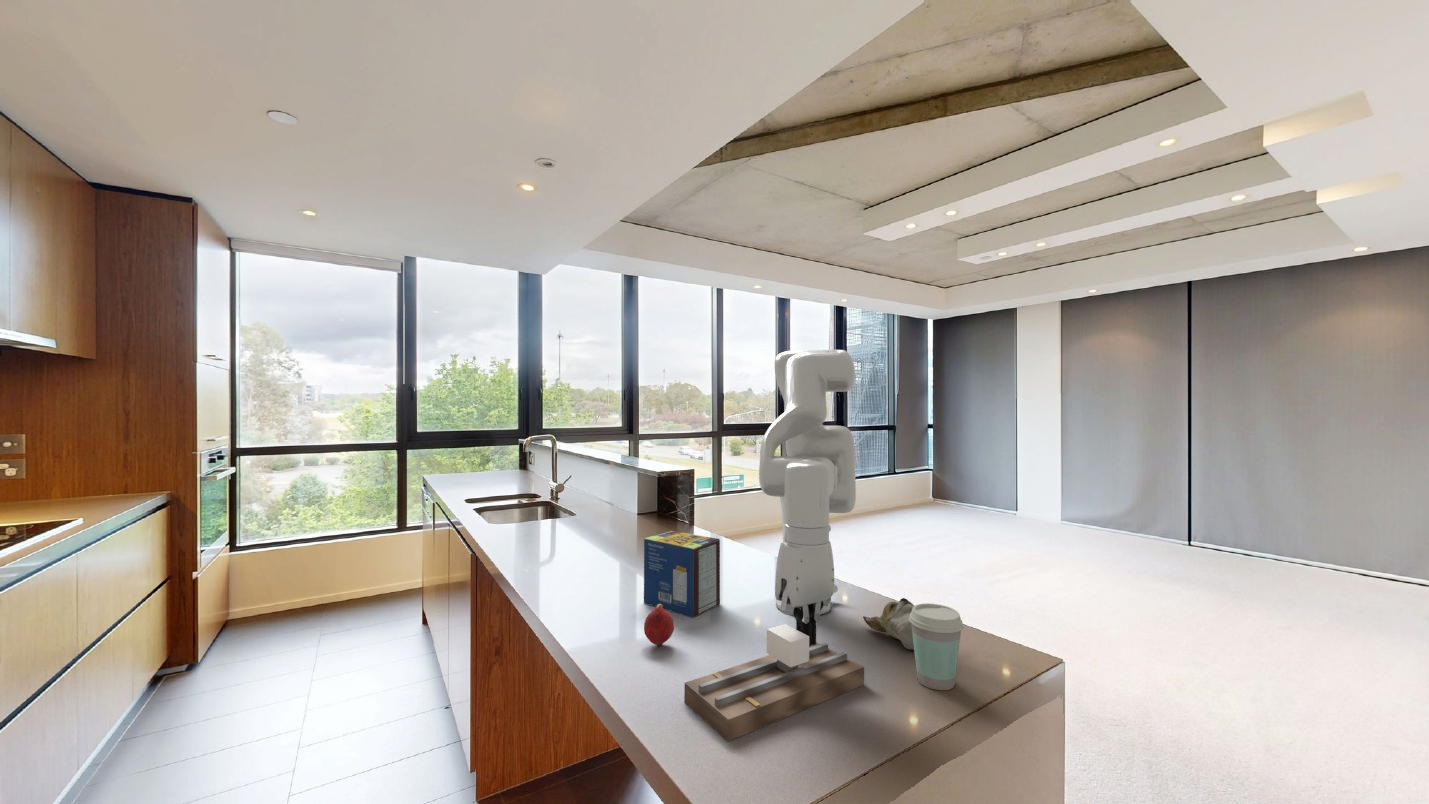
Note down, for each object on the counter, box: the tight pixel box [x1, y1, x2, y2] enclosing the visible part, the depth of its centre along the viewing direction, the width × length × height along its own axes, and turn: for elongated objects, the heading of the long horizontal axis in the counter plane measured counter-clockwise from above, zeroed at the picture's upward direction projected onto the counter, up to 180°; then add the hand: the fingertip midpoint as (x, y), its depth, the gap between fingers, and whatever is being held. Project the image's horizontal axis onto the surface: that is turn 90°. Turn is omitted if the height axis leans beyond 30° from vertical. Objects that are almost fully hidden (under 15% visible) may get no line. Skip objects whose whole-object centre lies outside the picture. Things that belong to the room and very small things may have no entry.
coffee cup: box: [909, 602, 964, 691], centre depth 92 cm, size 8×9×12 cm
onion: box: [643, 604, 675, 647], centre depth 105 cm, size 6×6×8 cm
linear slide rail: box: [683, 641, 865, 742], centre depth 88 cm, size 28×12×4 cm, turn 124°
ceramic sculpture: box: [862, 597, 915, 651], centre depth 109 cm, size 11×9×15 cm
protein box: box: [643, 530, 721, 619], centre depth 128 cm, size 10×15×16 cm
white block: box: [766, 623, 809, 672], centre depth 89 cm, size 4×6×6 cm, turn 34°
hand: (806, 642), depth 91 cm, fingers closed
